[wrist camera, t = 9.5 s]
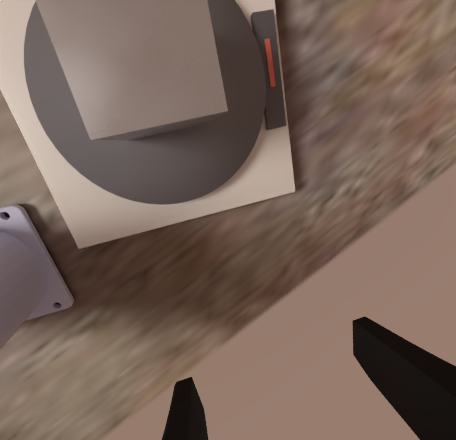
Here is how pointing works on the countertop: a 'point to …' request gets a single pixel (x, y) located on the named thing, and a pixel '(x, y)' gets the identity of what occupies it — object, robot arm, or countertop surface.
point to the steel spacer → (137, 64)
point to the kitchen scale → (156, 144)
